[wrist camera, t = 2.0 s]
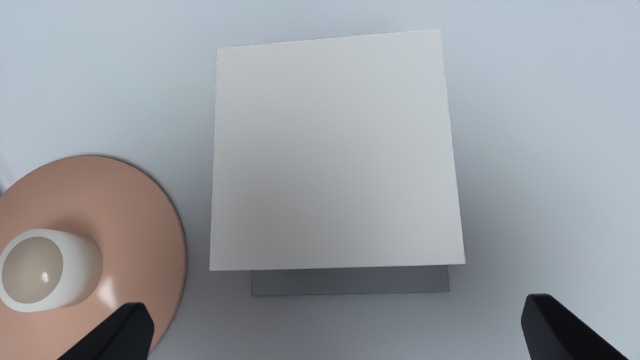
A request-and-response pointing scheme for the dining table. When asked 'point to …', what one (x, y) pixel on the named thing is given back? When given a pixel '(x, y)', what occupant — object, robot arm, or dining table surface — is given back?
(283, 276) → the mat
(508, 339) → the dining table surface
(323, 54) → the white block
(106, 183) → the plate
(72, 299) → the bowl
